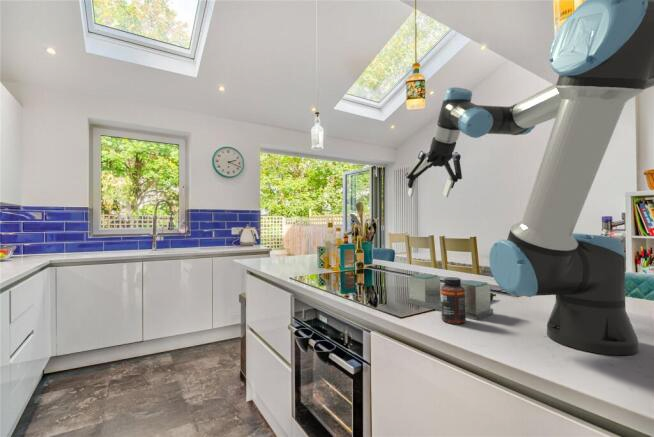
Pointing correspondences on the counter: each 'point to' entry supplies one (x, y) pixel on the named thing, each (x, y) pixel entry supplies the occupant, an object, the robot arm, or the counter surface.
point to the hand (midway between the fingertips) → (427, 195)
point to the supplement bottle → (453, 301)
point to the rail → (428, 295)
